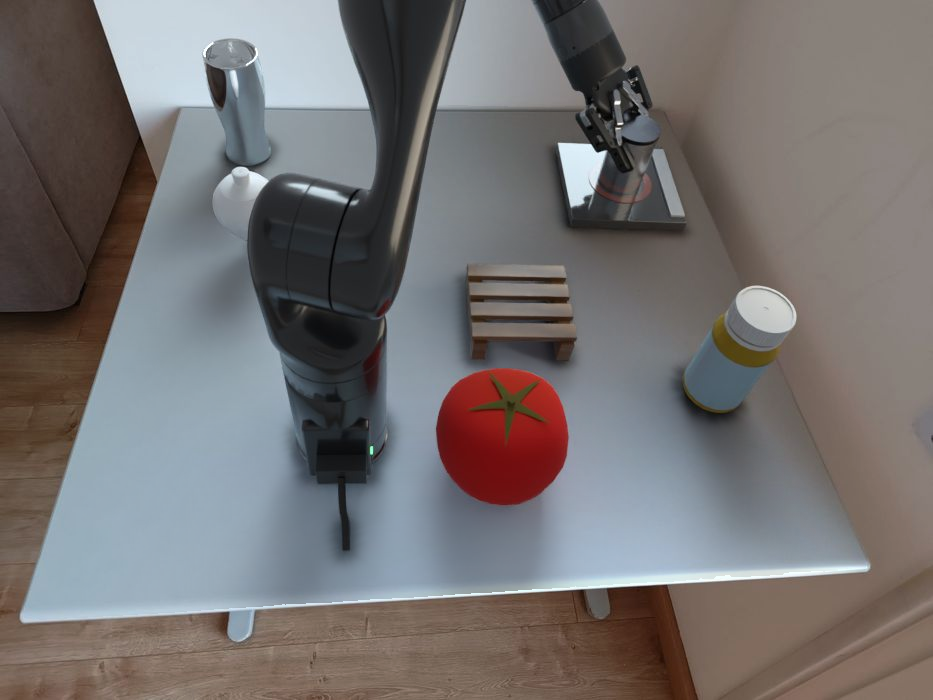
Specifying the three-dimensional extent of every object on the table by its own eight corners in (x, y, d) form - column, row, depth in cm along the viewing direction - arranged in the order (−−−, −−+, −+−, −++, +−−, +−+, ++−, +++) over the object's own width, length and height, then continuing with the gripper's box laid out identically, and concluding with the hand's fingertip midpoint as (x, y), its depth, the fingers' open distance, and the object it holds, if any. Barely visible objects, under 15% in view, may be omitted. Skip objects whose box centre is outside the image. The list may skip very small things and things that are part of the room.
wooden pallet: (571, 360, 84) (578, 341, 80) (469, 359, 82) (472, 340, 79) (558, 282, 91) (564, 262, 87) (464, 280, 89) (466, 260, 86)
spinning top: (293, 261, 88) (282, 187, 79) (230, 275, 86) (211, 200, 77) (279, 219, 92) (266, 144, 83) (218, 231, 90) (198, 155, 81)
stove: (683, 230, 98) (688, 220, 97) (570, 227, 97) (573, 217, 95) (659, 154, 108) (663, 144, 106) (555, 150, 106) (557, 140, 104)
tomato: (454, 536, 70) (465, 484, 60) (420, 418, 77) (425, 356, 68) (574, 506, 73) (603, 453, 63) (530, 395, 80) (550, 333, 71)
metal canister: (644, 196, 99) (665, 143, 92) (601, 194, 99) (618, 141, 91) (636, 166, 103) (655, 113, 96) (594, 164, 102) (610, 111, 95)
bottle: (697, 421, 80) (752, 342, 68) (670, 370, 84) (719, 287, 72) (750, 409, 82) (814, 330, 70) (722, 360, 86) (778, 277, 74)
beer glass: (220, 139, 100) (197, 39, 88) (270, 133, 102) (255, 35, 90) (226, 171, 97) (203, 72, 85) (278, 164, 98) (263, 66, 86)
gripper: (579, 55, 84) (639, 179, 90) (634, 8, 91) (686, 125, 97) (533, 77, 89) (593, 192, 96) (588, 31, 97) (640, 140, 103)
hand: (639, 158), depth 97 cm, fingers closed on metal canister, 6 cm apart
